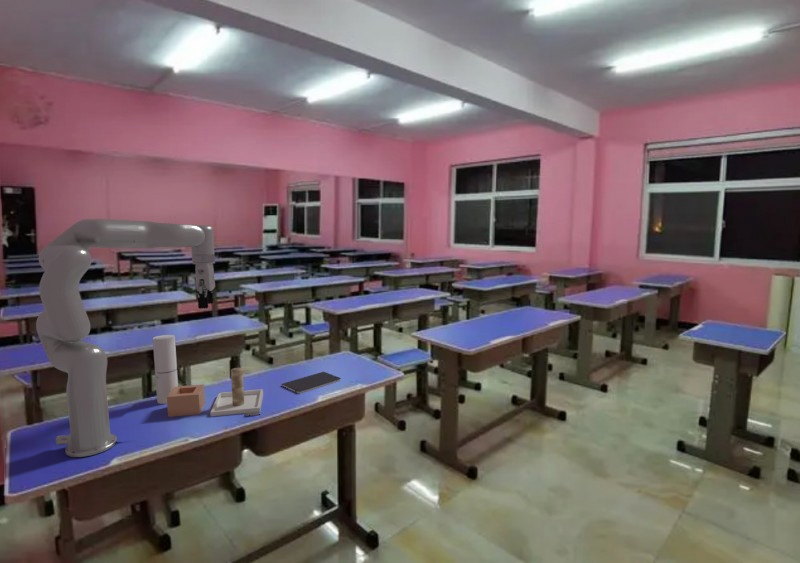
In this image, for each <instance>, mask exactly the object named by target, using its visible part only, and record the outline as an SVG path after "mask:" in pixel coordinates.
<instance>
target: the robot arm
mask: <svg viewBox="0 0 800 563" xmlns="http://www.w3.org/2000/svg"><path fill="white" fill-rule="evenodd" d="M169 247H171V248H174V247H175V248H179V247H180V248H184V247H186V248H187V247H189V248H191V260H192V261H191V262H192V265H195V269H194V270H195V288H196V291H197V305H198V309H208V308H209V305H210V304H211V305H213V303H214V295H213V294H214V293H213V291H214V289H215V288H216V282H215V280H216V279H215V271H214V270H215V268H214V264H216V259H215V258H216V257H215V238H214V228H213V227H212V226H211V225H206V224H205V225H203V224H202V225H197V224H188V223H186V224H184V223H169V222H168V223H166V222H165V223H164V222H157V221H156V222H155V221H148V220H147V221H146V220H145V221H144V220H130V219H128V220H127V219H110V218H85V219H82V220H79V221H77V222H75V223H74V224H72V225H71V226H70V227H68V228H67V229H65V231H63V232H62V233H61V234H59V235H58V236H57V237H56V238H54V239H53V240H52V241H51V242H49V243H48V244H47V245H45V246H44V247H43V248H42V249H41V251H40V252H39V256H38V263H39V265H40V267H41V268H42V269H43V270H44V272H43V274H42V277H41V279H40V280H39V286H38V287H39V297H40V299H41V303H42V305H43V306H42V307H43V309H44V310H42V311H41V312H40V313H39V315H38V317H37V319H36V322H35V326H36V332H37V334H38V338H39V340H40V342H41V344H42V347H43V350H44V352H45V355H46V357H47V359H48V360H49V362H50V364H51V365H52V367H54V368H55V369H56V370H58V371H61V372H63V373H67V376H68V377H67V381H66V382H67V383H66V388H65V389H66V391H65V392H66V402H67V410H68V412H67V414H68V422H69V423H68V424H69V432H70V433H69V434H68V435H67V434H66V435H65V434H64V435H57V436H56V437H55V443H56V446H64V445H66V447H65V451H64V452H65V455H67V456H68V457H71V458H85V457H90V456H96V455H98V454H101V453H103V452H105V451H107V450H109V449H111V448H113V447H114V446H116V444H117V443H118V441H117V440H118V437H117V436H116V434H113V433H111V427H110V426H111V425H110V413H109V402H108V401H109V400H108V392H107V370H108V369H107V368H108V356H107V354H106V352H105V351H104V349H103V348H102V347H100V346H98V345H96V344H94V343H91V342H87V341H83V340H84V339H85V338H87V336H89V334H90V332H91V322H90V319H89V316H88V313H87V311H86V309H85V308H86V307H85V306H84V303H83V300H82V297H81V295H80V289H79V285H80V281H81V279H82V278H83V277H84V275H85V274H86V273H87V271H88V270H89V269H90V267H91V265H92V256H91V253H90V250H92V248H103V249H106V248H107V249H108V248H111V249H119V248H120V249H123V248H125V249H127V248H128V249H130V248H131V249H132V248H133V249H137V248H139V249H140V248H141V249H153V248H169Z"/></svg>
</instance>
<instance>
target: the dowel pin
mask: <svg viewBox="0 0 800 563" xmlns="http://www.w3.org/2000/svg"><path fill="white" fill-rule="evenodd" d="M230 377H231V379H230V380H231V392H232V401H233V406H241V405H243V404H244V391H245V389H244V388H245V387H244V385H245V384H244V369H243V368H242V367H234V368H231V370H230Z"/></svg>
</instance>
